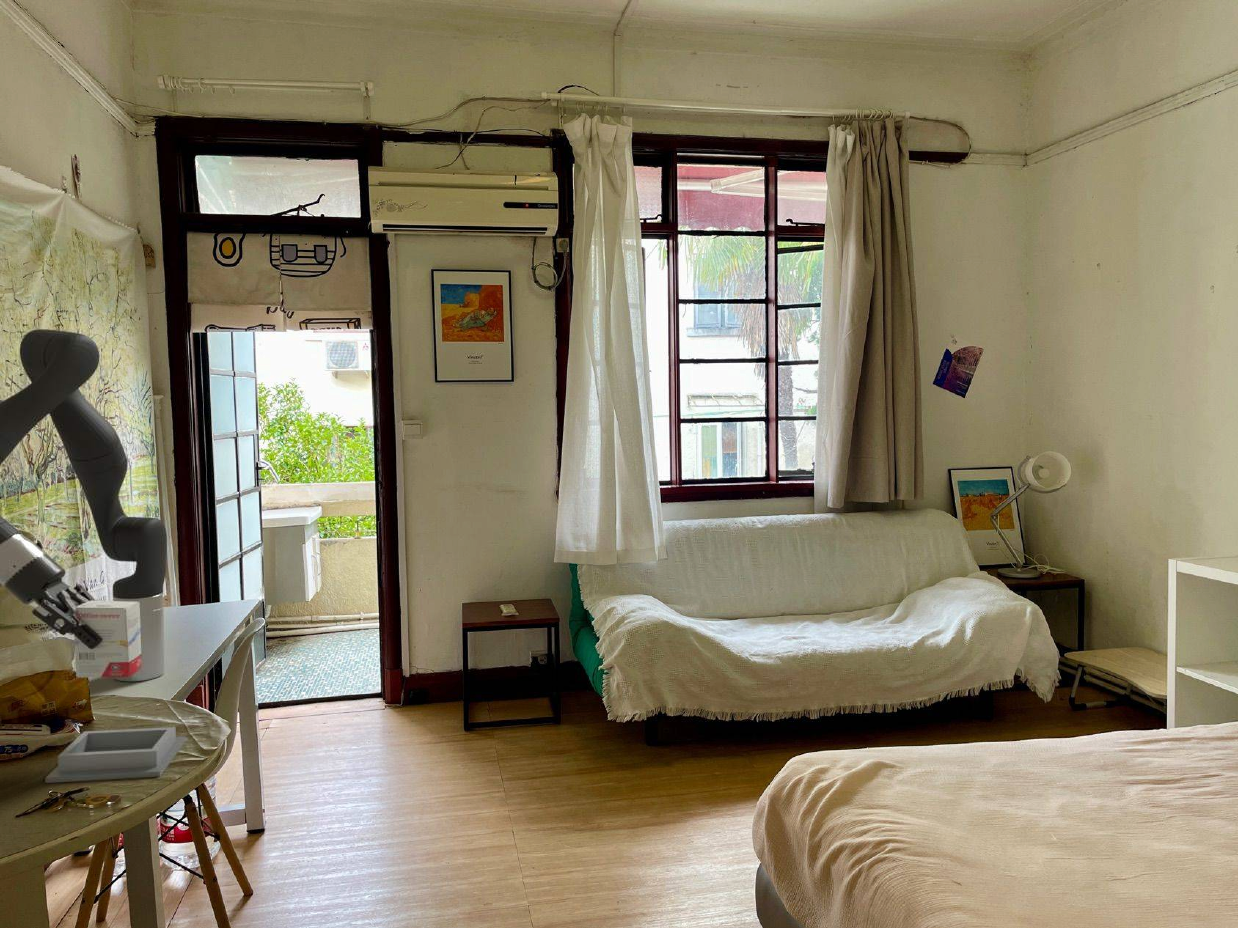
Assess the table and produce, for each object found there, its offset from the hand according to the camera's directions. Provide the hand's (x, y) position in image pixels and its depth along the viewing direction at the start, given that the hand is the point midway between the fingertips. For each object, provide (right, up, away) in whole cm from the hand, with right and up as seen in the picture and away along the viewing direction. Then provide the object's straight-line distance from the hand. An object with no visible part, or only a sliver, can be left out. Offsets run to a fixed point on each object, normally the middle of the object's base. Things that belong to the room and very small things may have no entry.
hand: (104, 639), depth 145 cm
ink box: (0, -6, 0) cm, 6 cm away
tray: (+4, -19, -3) cm, 20 cm away
